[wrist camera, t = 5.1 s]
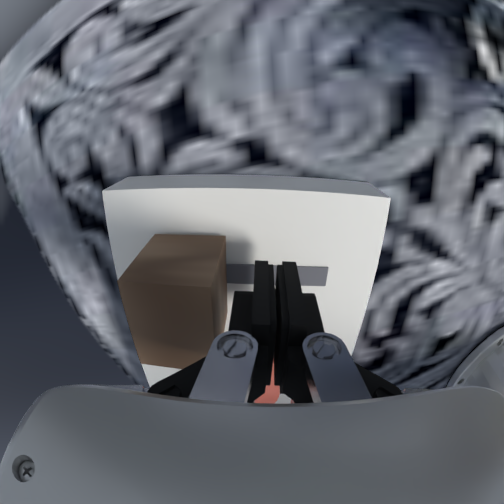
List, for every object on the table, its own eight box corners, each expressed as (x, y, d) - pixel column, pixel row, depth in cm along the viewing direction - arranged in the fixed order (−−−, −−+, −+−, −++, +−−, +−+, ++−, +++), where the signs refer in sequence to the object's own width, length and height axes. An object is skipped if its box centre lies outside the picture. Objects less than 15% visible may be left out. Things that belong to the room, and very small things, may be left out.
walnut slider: (225, 235, 12) (210, 287, 9) (227, 311, 14) (217, 372, 11) (154, 233, 12) (117, 280, 9) (165, 306, 14) (140, 363, 11)
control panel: (368, 182, 14) (398, 203, 11) (314, 414, 24) (317, 449, 20) (128, 176, 15) (92, 196, 11) (175, 408, 24) (167, 441, 20)
